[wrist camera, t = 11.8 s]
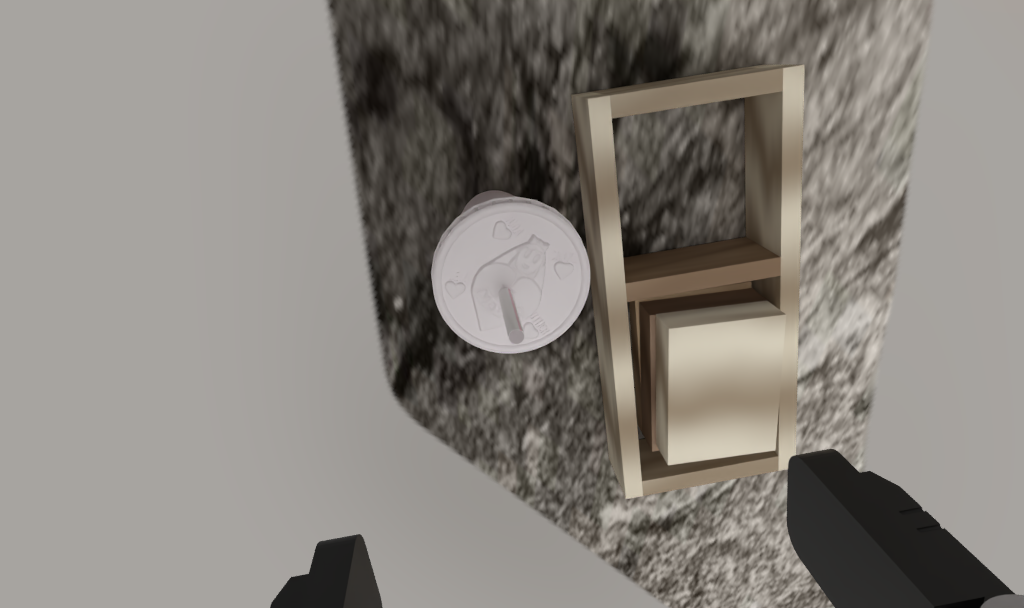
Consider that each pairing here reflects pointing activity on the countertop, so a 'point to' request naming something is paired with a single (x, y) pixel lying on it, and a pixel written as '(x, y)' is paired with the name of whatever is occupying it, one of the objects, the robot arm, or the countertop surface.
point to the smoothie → (510, 273)
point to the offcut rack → (694, 254)
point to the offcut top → (718, 381)
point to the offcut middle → (649, 342)
